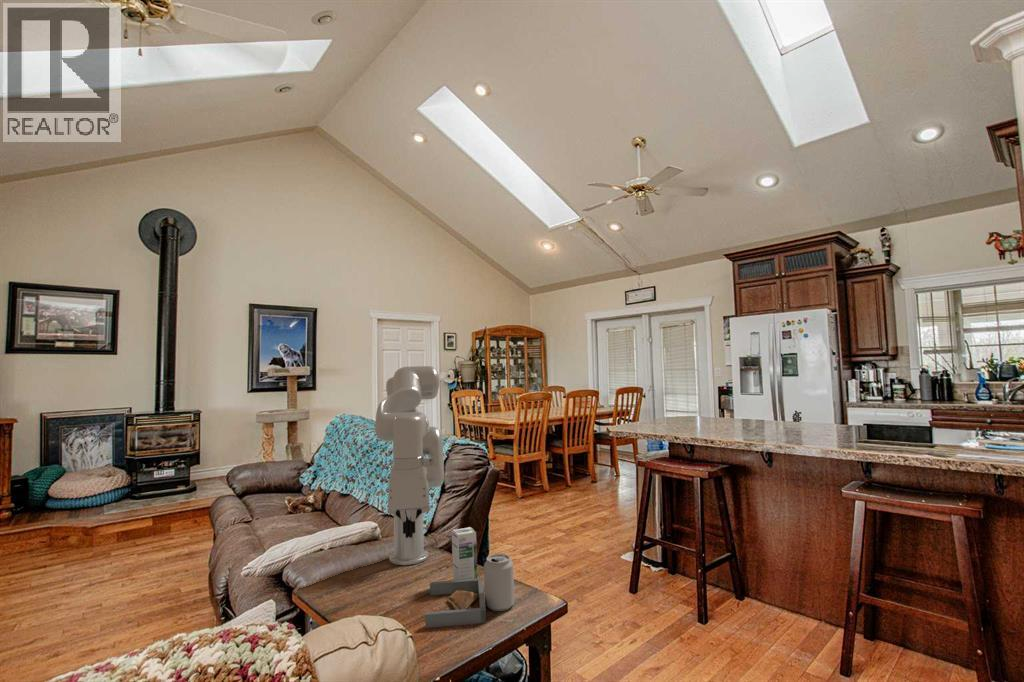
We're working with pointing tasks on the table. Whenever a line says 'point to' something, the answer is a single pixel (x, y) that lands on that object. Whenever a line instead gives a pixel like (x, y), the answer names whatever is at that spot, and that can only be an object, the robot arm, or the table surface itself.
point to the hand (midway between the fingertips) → (409, 536)
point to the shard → (462, 599)
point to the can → (499, 582)
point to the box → (462, 614)
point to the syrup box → (464, 554)
